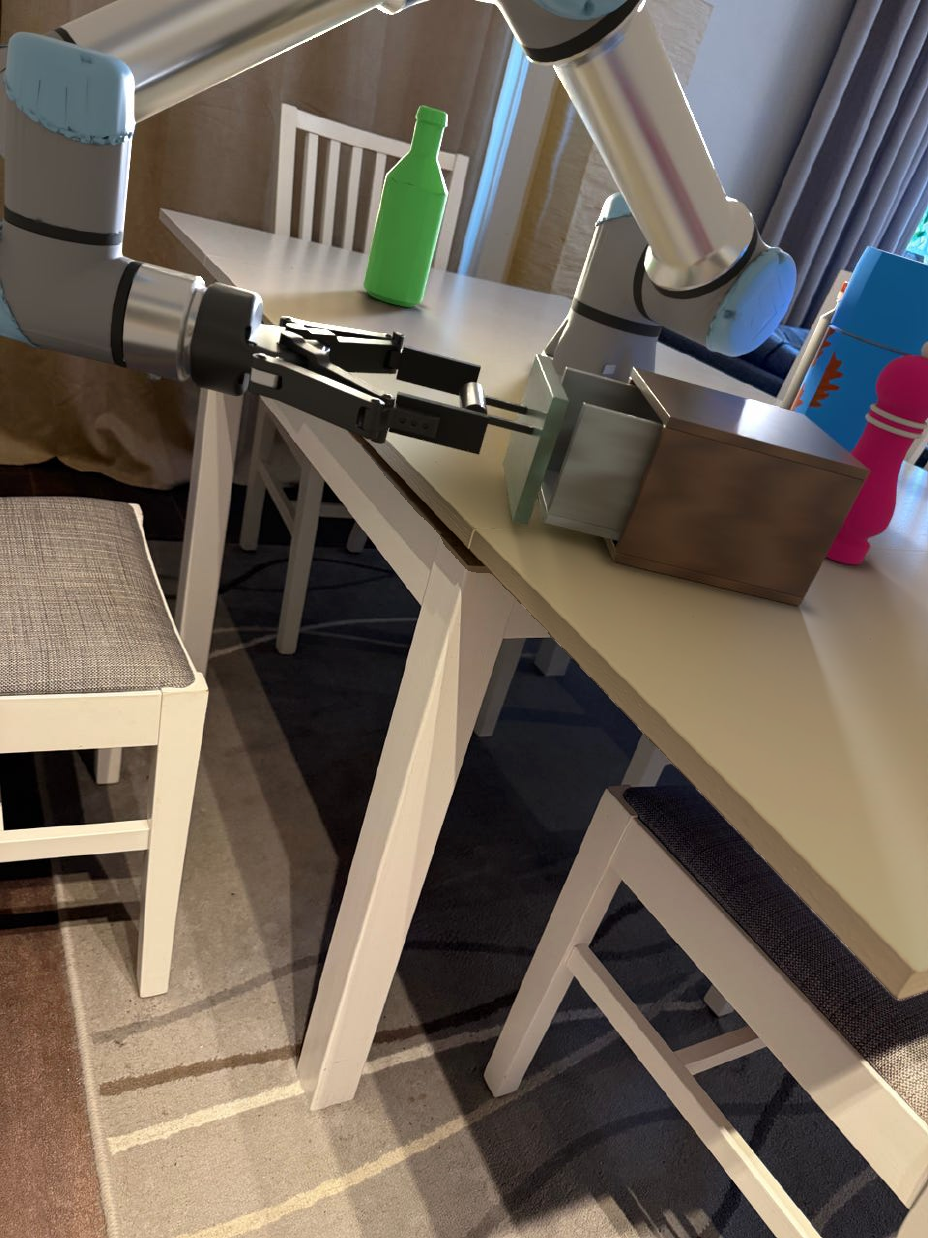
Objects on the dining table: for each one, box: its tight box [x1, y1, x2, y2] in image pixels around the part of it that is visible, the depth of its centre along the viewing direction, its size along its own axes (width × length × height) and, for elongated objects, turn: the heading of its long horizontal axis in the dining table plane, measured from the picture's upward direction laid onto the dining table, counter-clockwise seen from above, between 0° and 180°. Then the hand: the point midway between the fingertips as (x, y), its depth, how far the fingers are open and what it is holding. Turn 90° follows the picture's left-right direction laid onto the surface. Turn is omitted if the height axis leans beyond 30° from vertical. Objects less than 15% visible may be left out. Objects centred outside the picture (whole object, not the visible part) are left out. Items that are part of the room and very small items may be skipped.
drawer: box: [458, 353, 664, 541], centre depth 70 cm, size 20×12×10 cm, turn 91°
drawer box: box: [604, 367, 870, 607], centre depth 72 cm, size 16×14×12 cm
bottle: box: [363, 105, 449, 308], centre depth 124 cm, size 9×9×25 cm
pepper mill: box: [825, 342, 928, 566], centre depth 80 cm, size 7×7×20 cm
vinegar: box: [779, 281, 849, 410], centre depth 125 cm, size 7×7×20 cm
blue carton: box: [790, 245, 928, 453], centre depth 94 cm, size 11×11×25 cm
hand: (480, 406), depth 68 cm, fingers open, 13 cm apart
